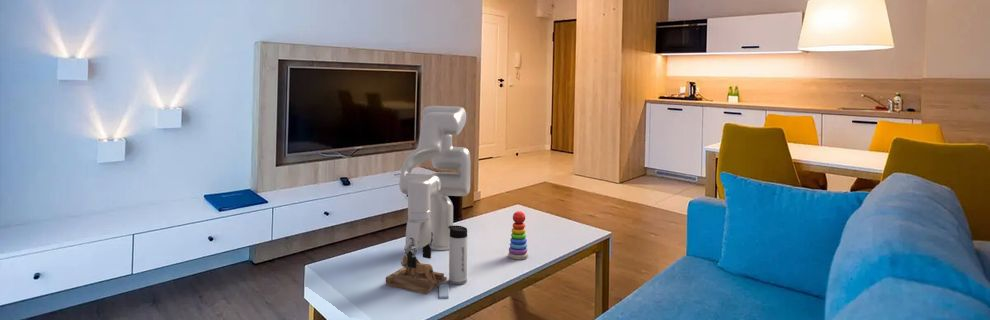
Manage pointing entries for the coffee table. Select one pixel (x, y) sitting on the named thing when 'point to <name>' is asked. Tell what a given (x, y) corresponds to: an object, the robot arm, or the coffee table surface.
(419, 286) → the cradle jig
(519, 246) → the stacking toy
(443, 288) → the plank
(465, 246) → the travel mug
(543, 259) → the coffee table surface
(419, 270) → the lion figurine
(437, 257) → the coffee table surface
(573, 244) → the coffee table surface
